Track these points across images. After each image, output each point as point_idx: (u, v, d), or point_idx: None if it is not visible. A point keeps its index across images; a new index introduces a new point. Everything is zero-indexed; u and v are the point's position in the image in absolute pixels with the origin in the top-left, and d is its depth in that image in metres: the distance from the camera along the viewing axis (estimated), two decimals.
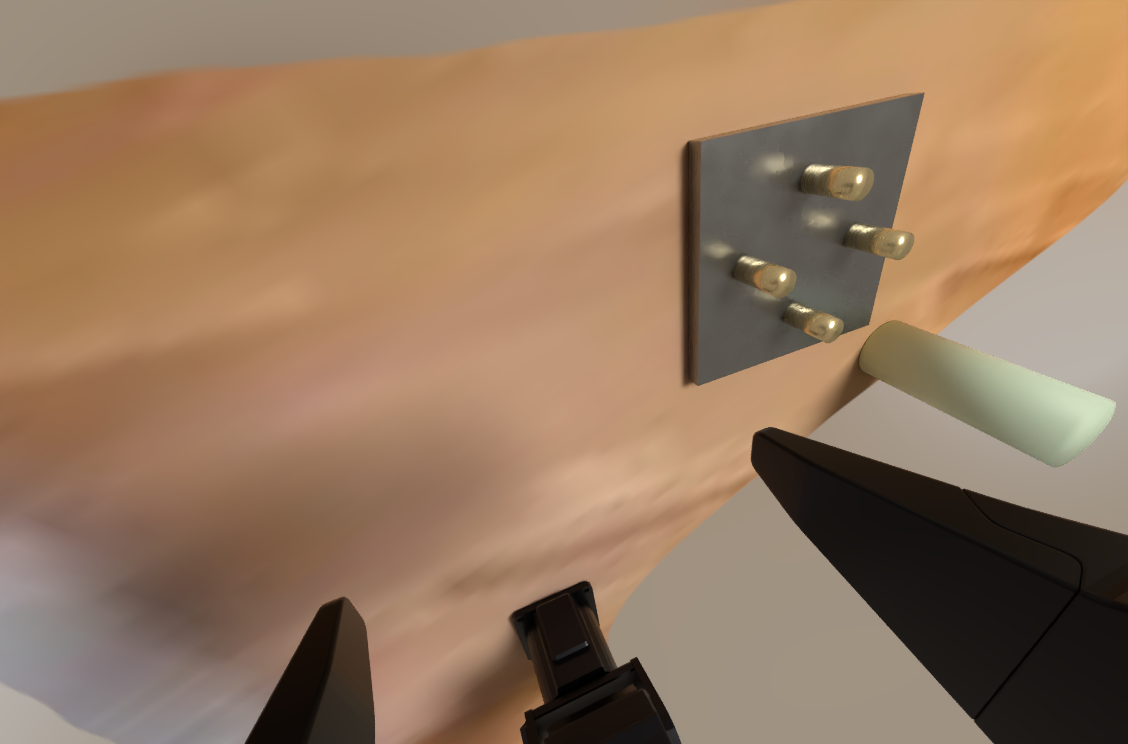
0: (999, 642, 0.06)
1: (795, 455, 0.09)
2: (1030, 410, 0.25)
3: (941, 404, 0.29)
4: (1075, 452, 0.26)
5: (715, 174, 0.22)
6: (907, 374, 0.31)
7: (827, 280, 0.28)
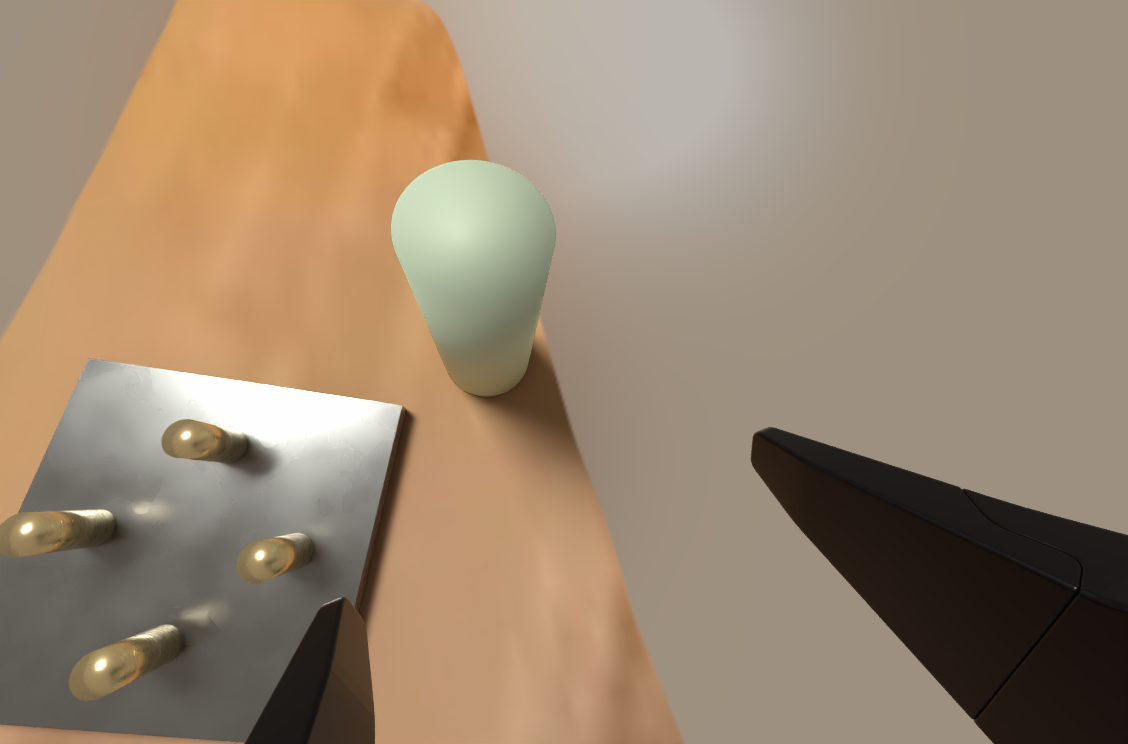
0: (999, 642, 0.06)
1: (795, 455, 0.09)
2: (425, 306, 0.13)
3: (493, 362, 0.17)
4: (532, 224, 0.13)
5: None
6: (469, 377, 0.20)
7: (274, 489, 0.20)
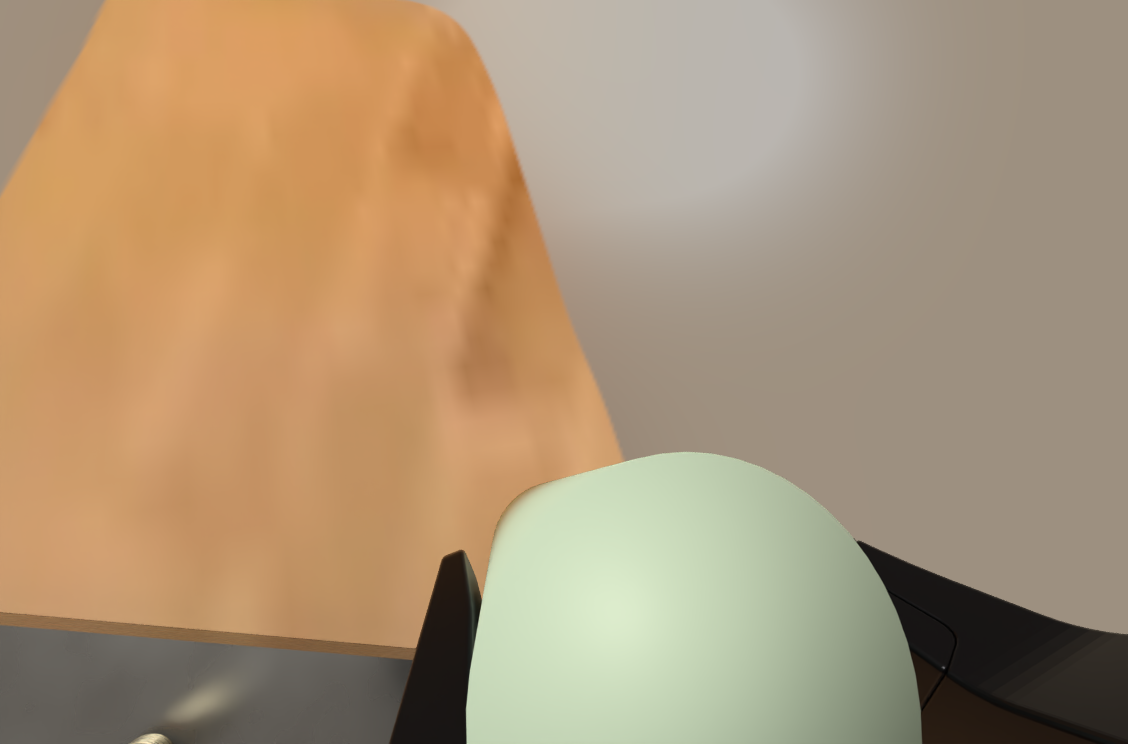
0: None
1: None
2: None
3: None
4: (851, 647, 0.04)
5: None
6: None
7: None
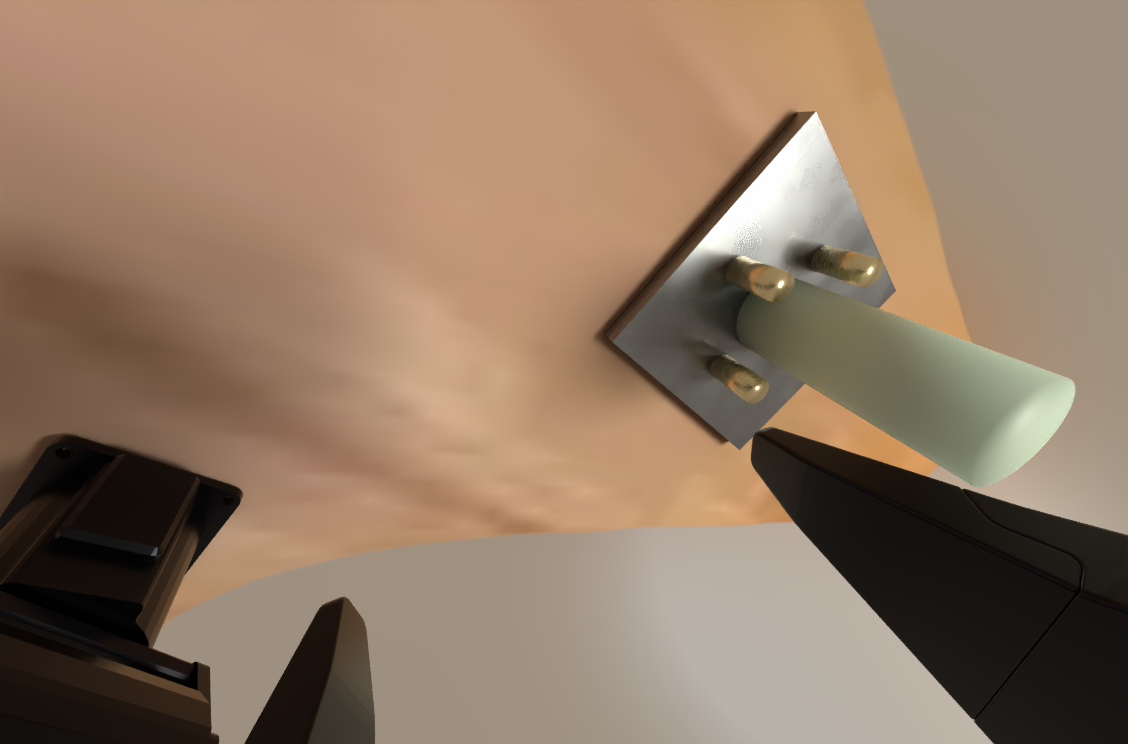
0: (999, 642, 0.06)
1: (795, 455, 0.09)
2: (959, 373, 0.15)
3: (828, 372, 0.19)
4: (998, 471, 0.16)
5: (797, 154, 0.21)
6: (795, 327, 0.21)
7: (757, 366, 0.27)
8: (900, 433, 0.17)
